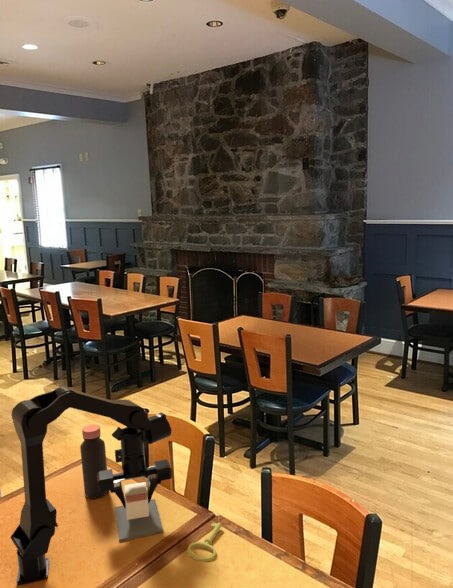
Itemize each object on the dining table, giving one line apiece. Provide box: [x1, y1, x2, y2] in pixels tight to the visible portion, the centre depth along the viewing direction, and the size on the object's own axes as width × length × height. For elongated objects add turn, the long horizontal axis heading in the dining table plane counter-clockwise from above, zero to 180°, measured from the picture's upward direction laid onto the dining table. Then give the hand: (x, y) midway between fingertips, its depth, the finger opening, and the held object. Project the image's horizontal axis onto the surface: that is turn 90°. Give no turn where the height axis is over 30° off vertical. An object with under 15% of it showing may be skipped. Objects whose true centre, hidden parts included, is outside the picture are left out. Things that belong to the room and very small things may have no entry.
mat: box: [114, 498, 164, 543], centre depth 128 cm, size 14×11×1 cm
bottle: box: [79, 423, 109, 499], centre depth 140 cm, size 7×7×20 cm
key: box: [186, 521, 223, 562], centre depth 119 cm, size 7×12×2 cm, turn 172°
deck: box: [124, 481, 149, 520], centre depth 127 cm, size 6×9×5 cm, turn 13°
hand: (136, 504), depth 128 cm, fingers closed on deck, 6 cm apart
